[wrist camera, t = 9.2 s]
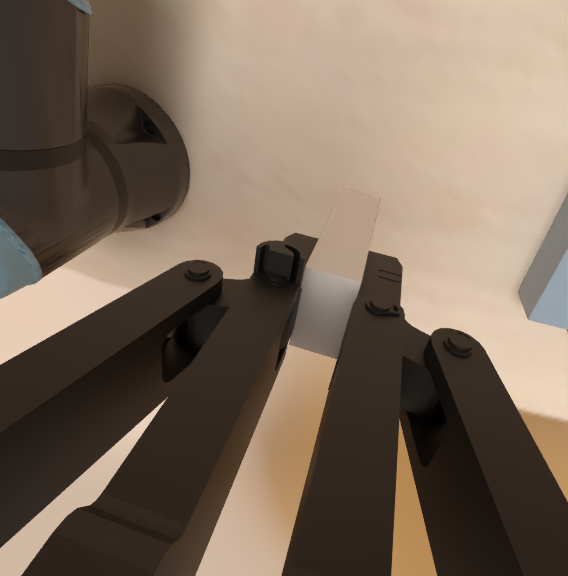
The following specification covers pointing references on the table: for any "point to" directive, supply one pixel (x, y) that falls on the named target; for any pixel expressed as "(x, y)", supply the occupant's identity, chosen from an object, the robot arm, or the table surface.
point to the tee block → (549, 277)
